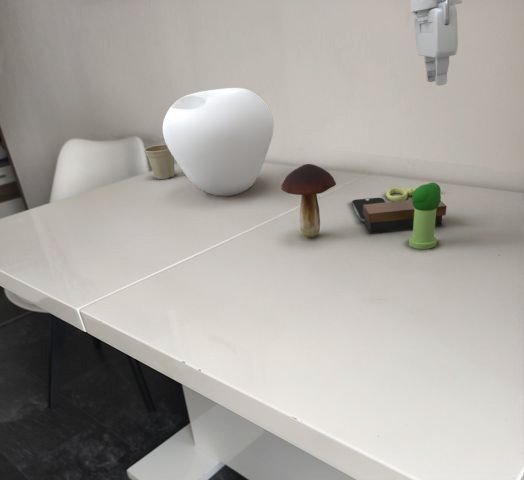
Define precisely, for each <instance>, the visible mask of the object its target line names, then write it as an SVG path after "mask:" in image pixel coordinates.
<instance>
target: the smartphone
mask: <svg viewBox="0 0 524 480" xmlns="http://www.w3.org/2000/svg"><path fill="white" fill-rule="evenodd" d="M385 202H386V201H385V199H384V198H382V197H370V198H359V199H353V200H352V201H351V205H352V207H353V210H354V212H355V213H356V216H357V218H358V220H359V221H360V223H364V224H365V216H364V215H363V205H365V204H375V203H385Z"/></svg>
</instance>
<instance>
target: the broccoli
mask: <svg viewBox="0 0 524 480" xmlns="http://www.w3.org/2000/svg"><path fill="white" fill-rule="evenodd" d="M415 188H416V189H415ZM415 188H414V189H415V190H414V192H413V194H412V196H411V200H412V204H413V206H414V208H415V210H414V224H413V229H412V235H411V236H410V237H409V239H408V245H409V247H411V248H413V249H417V250H427V249H432V248H435V247H436V246H437V243H438V239H437V237H436V236H435V229H436V227H435V219H436V209H437V207H438V205H439V204H440V201H442V195H441V193H442V190H441V186H440V185H439V184H438V183H436V182H429V183H426V184H422V185H419V186H418V187H415Z"/></svg>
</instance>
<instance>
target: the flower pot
mask: <svg viewBox="0 0 524 480" xmlns="http://www.w3.org/2000/svg"><path fill="white" fill-rule="evenodd" d="M143 152H144V153H145V154H146V157H147V159H148V161H149V164H150V168H151V170H152V173H153V176H154V179H157V180H166V179H170V178H171V177H172V178H173V177H175V175H176V172H175V158H174V157H173V155H172V154H171V152H170V150H169V149H168V147H167V145H166V143H164V144H163V143H162V144H156V145H151V146H148V147H145V148H144V149H143Z"/></svg>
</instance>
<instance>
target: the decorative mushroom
mask: <svg viewBox="0 0 524 480" xmlns="http://www.w3.org/2000/svg"><path fill="white" fill-rule="evenodd" d="M335 186H337V182H336V179H335V178H334V177H333V175H332V174H331V173H330V172H329V171H327V170H326V169H324V168H322V167H320V166H318V165H315V164H313V163H306V164H303V165H301V166H298V167H297V168H295V169H294V170H292V171H291V172H290V173H288V174H287V175H286V176H285V177H284V180H283V182H282V184H281V187H280V189H281V191H282V192H284V193H286V194H289V195H295V196H301V198H300V206H299V230H300V232H301V235H302V236H304V237H306V238H310V239H312V238H315V237H316V236H317V235H319V233H320V231H321V217H320V206H319V202H318V201H319V200H318V196H317V195H319V194H323V193H325V192H327V191H328V190H330V189H331V188H333V187H335Z"/></svg>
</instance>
